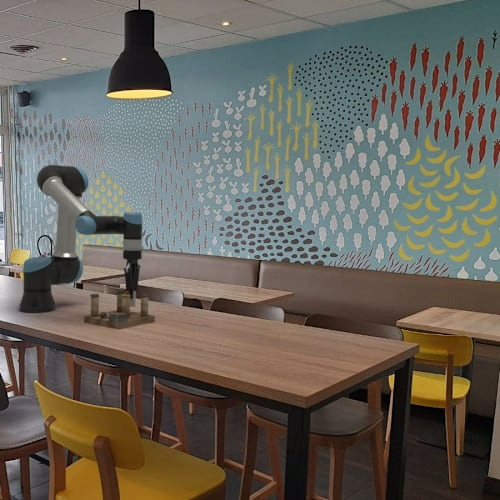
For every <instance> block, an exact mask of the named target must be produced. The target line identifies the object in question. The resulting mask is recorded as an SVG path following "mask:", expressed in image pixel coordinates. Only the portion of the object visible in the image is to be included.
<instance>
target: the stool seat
mask: <svg viewBox="0 0 500 500" xmlns="http://www.w3.org/2000/svg"><path fill="white" fill-rule="evenodd" d="M125 291H126V290H116V310H111V311H105V312H106V317H104V318H102V317H100V312H99V310H100V309H99V300H100V299H99V297H100V294H99V293H91V294H90V314H88V315H84V316H83V323H85V324H92V325H95V326H100V327H106V328H110V329H115V330H121V329H125V328H131V327H136V326H141V325H145V324H150V323H155V321H156V317H155V316H156V315H153V314H149V297H150V296H149V294H148V293H141V294H140V312H135V311H131V310H130V317H128V313H124V314H113V313H122V305H123V297H122V295H123V294H125V293H126V292H125ZM107 313H109V317H107Z"/></svg>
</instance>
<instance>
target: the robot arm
mask: <svg viewBox="0 0 500 500" xmlns="http://www.w3.org/2000/svg"><path fill="white" fill-rule="evenodd" d="M37 173H38V174H37V177H36V184H37V186H38V189H39V190H40V191H41V192H42V193H43V194H44V195H45V196H48V197H50V198H51V199H52V200H53V201H54V202H55V203H56V204H57V207H58V208H57V225H56V241H55V251H54V252H53V253H52V254H51V257H50V256H35V257H29V258H27V259H26V260H25V261H24V262H23V269H22V271H23V272H22V273H23V292H22V293H23V294H22V297H21V300H20V302H19V307H18V308H19V309H18V310H19V311H20V312H24V313H48V312H53V311H55V310H56V302H55V300H54V296H53V294H52V286H54V285H65V284H66V285H69V284H74V283H77V282H78V281H79V280H80V279H81V277H82V275H83V273H84V272H83V271H84V266H83V265H84V264H83V262H82V260H81V259H80V258H79V255H78V253H77V252H76V248H77V247H76V246H77V245H76V243H77V233H79V234H80V235H86V236H91V235H93V236H94V235H123V239H122V245H123V246H122V248H123V249H124V250H123V251H122V259H123V260H126V264H125V267H124V268H123V273H124V280H125V282H124V283H125V291H126V292H127V294H130V308H133V307H134V308H135V307H136V302H137V301H136V299H137V295H136V294H137V293H136V291H139V278H140V277H139V276H140V269H141V265H140V264H139V260H142V259H143V255H142V253H143V251H142V248H143V214H142V213H141V211H138V212H137V211H136V212H135V211H124V212H123V216H121V215H120V216H119V215H95V213H93V212H92V211H91V210H90V208H88V207H87V206H86V205H85V204H84V203H83V202H82V201H81V200H80V199H81V198H82V197H83V193H85V192H87V190H88V189H89V178H88V175H87V173H86V171H85V170H84V169H83V168H82V167H77V166H74V165H57V164H48V165H45V166H44V167H43V168H41V169H40V170H39V171H38V172H37Z"/></svg>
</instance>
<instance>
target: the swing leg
mask: <svg viewBox="0 0 500 500" xmlns="http://www.w3.org/2000/svg"><path fill="white" fill-rule="evenodd" d="M122 297H123V305H122V313H113V314H124V313H128V317H130V311H131V307H130V294H128V293H126V294H125V293H124V294H123V295H122ZM106 312H107V311H101V312H99V313H100V317H102V318H104V317H106ZM107 317H109V313H107Z"/></svg>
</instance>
